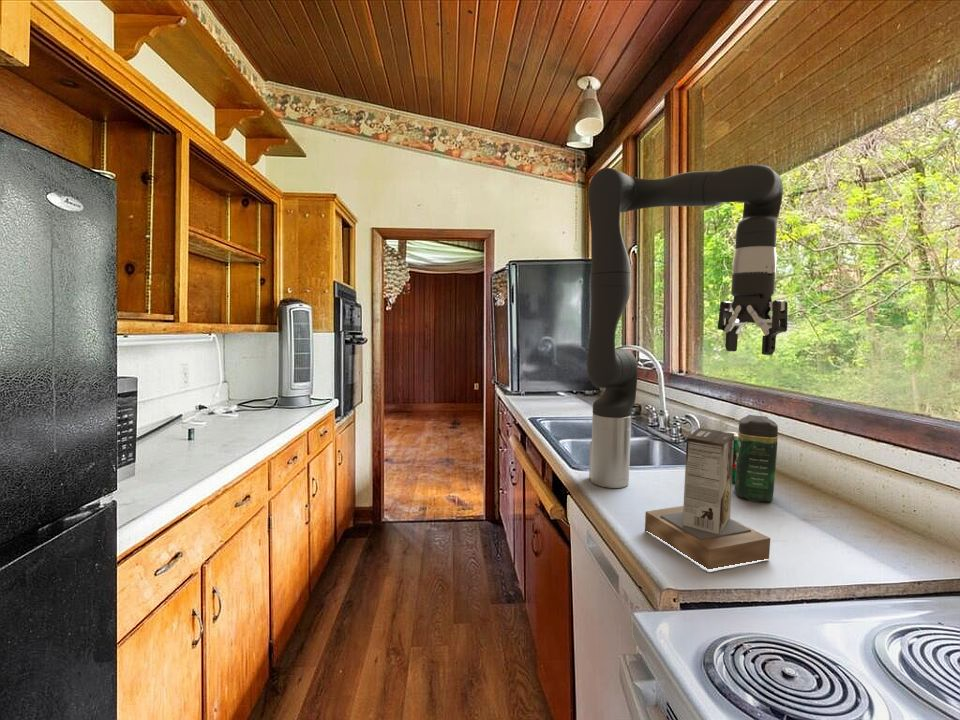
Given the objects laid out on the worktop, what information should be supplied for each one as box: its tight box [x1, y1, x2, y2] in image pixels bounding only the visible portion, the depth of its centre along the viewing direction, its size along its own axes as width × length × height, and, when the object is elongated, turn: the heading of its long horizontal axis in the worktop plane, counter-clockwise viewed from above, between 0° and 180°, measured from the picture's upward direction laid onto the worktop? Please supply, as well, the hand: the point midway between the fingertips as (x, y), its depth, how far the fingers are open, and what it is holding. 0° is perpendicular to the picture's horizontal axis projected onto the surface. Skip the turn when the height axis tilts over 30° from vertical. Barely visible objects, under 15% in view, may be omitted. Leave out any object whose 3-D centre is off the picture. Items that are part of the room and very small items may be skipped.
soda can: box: [725, 431, 738, 484], centre depth 123 cm, size 5×5×12 cm
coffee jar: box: [734, 414, 779, 503], centre depth 113 cm, size 10×8×19 cm
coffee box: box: [682, 428, 735, 535], centre depth 88 cm, size 9×6×16 cm
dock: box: [644, 505, 771, 569], centre depth 88 cm, size 16×13×4 cm
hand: (748, 352), depth 98 cm, fingers open, 8 cm apart
